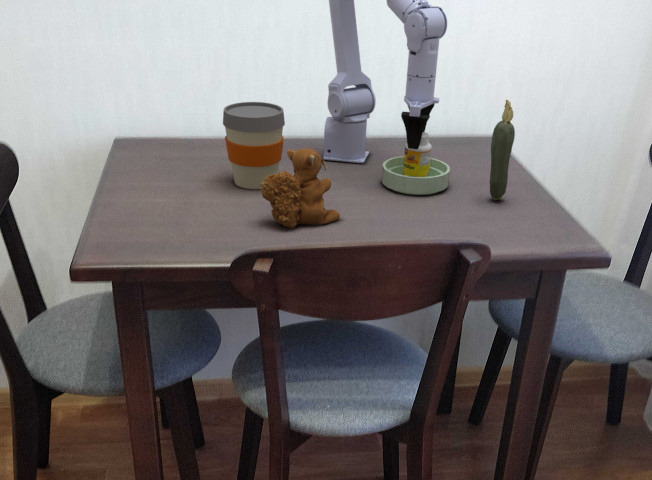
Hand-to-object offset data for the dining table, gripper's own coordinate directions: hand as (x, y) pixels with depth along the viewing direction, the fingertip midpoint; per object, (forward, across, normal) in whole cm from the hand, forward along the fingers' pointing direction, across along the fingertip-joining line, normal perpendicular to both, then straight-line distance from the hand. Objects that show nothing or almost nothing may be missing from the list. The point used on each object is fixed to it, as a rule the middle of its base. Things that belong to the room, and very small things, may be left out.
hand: (415, 143), depth 160 cm
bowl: (+9, 0, -1) cm, 9 cm away
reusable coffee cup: (+9, -8, +32) cm, 35 cm away
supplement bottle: (+8, 0, -1) cm, 9 cm away
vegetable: (+9, -5, -18) cm, 20 cm away
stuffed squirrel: (+9, -26, +18) cm, 33 cm away
